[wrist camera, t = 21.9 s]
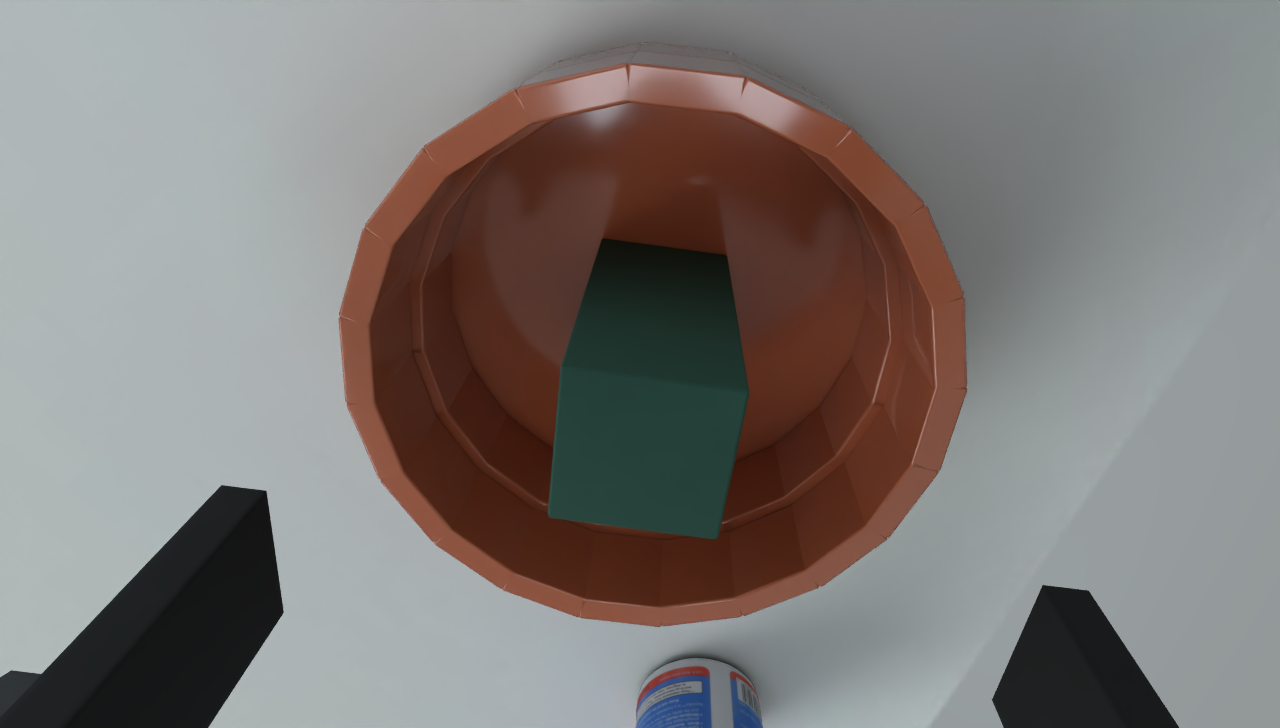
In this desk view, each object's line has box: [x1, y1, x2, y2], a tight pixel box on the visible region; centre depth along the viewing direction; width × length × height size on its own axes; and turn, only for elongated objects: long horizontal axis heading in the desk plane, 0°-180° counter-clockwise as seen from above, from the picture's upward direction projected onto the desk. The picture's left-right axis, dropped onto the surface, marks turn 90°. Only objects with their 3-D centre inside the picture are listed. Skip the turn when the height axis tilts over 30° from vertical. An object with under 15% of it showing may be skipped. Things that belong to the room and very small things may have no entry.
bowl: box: [339, 43, 967, 627], centre depth 22 cm, size 16×16×7 cm
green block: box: [548, 238, 750, 539], centre depth 21 cm, size 4×4×9 cm
